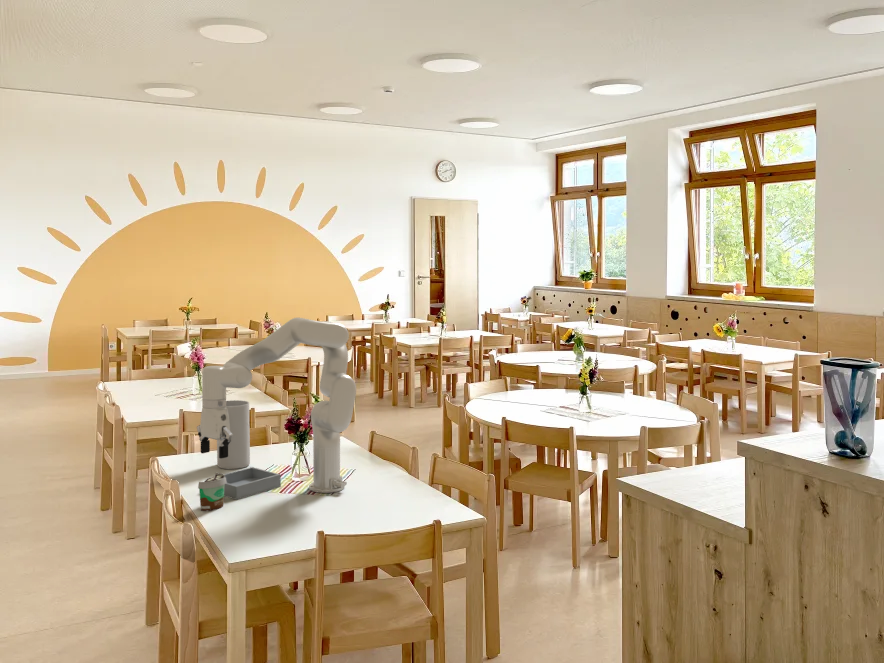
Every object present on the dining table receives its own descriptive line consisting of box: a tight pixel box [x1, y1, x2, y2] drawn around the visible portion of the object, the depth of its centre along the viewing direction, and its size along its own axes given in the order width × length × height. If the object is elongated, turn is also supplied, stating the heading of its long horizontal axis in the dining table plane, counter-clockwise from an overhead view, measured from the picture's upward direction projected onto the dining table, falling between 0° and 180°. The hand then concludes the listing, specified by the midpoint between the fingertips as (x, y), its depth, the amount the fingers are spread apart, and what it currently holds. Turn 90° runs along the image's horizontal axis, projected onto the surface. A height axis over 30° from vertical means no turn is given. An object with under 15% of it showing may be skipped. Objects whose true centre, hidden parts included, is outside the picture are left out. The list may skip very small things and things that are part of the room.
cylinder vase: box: [216, 399, 251, 470], centre depth 311 cm, size 12×12×25 cm
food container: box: [197, 472, 227, 512], centre depth 261 cm, size 12×6×10 cm, turn 168°
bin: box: [223, 466, 282, 500], centre depth 282 cm, size 16×20×4 cm
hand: (214, 455), depth 259 cm, fingers open, 9 cm apart
